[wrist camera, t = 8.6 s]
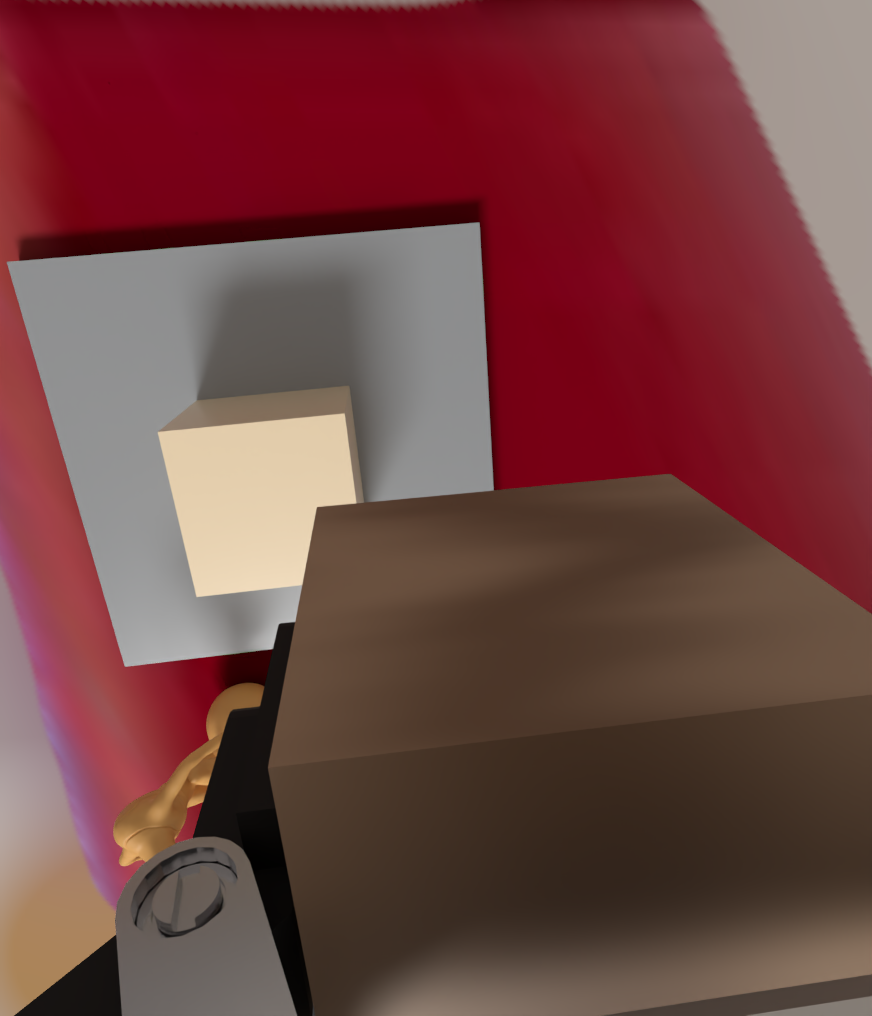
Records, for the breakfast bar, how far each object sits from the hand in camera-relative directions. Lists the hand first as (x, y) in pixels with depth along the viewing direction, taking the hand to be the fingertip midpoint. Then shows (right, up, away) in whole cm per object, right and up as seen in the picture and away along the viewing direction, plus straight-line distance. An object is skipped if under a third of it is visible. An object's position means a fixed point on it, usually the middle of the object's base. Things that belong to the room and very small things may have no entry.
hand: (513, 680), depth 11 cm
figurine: (-13, -7, +26) cm, 30 cm away
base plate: (-9, +5, +22) cm, 24 cm away
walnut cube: (0, 0, +1) cm, 1 cm away
